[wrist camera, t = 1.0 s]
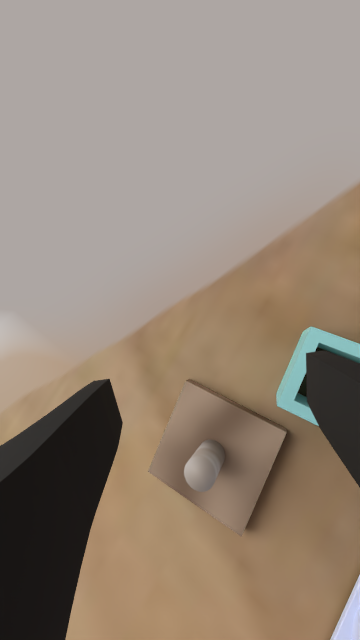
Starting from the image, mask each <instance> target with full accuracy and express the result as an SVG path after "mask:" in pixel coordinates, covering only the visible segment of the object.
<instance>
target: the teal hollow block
mask: <svg viewBox="0 0 360 640" xmlns="http://www.w3.org/2000/svg"><path fill="white" fill-rule="evenodd" d="M317 347H318V348H321V349H323V350H326V351H329V352H331V353H334V354H336V355H339V356H342V357H344V358H347V359H350V360H352V361H355V362H357V363H360V344H358V343H356V342H353V341H350V340H347V339H345V338H342V337H339V336H336V335H334V334H331V333H328V332H325V331H322V330H320V329H317V328H314V327H309V328H308V329H306V330H305V331H303V333H302V335H301V337H300V340H299V342H298V344H297V347H296V349H295V351H294V354H293V356H292V358H291V361H290V363H289V365H288V368H287V370H286V372H285V375H284V377H283V379H282V382H281V384H280V386H279V389H278V391H277V393H276V396H277V406H278V407H281V408H283V409H285V410H287V411H289V412H291V413H293V414H295V415H297V416H299V417H301V418H303V419H305V420H307V421H309V422H311V423H313V424H315V425H318V423H317V421H316V419H315V417H314V415H313V413H312V411H311V409H310V407H309V405H308V403H307V397H305V396H303V395H301V394H299V393H297V392H298V390H299V388H300V385H301V383H302V381H303V378H304V376H305V374H306V353H309V352H315V351H316V348H317ZM318 426H319V425H318Z"/></svg>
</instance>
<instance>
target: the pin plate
mask: <svg viewBox="0 0 360 640" xmlns="http://www.w3.org/2000/svg"><path fill="white" fill-rule="evenodd" d="M286 433H287V432H286V428H284V427H282V426H280V425H278V424H276V423H274V422H272V421H270V420H268V419H266V418H265V417H263V416H261V415H259V414H257V413H255V412H253V411H251V410H249V409H247V408H245V407H243V406H241V405H239V404H237V403H235V402H233V401H231V400H229V399H227V398H225V397H223V396H221V395H220V394H218V393H216V392H214V391H212V390H210V389H208V388H206V387H204V386H202V385H200V384H198V383H196V382H194V381H192V380H190V379H189V380H186V381H185V383H184V386H183V388H182V391H181V393H180V395H179V398H178V400H177V403H176V405H175V407H174V410H173V412H172V415H171V417H170V419H169V422H168V424H167V427H166V429H165V431H164V434H163V436H162V439H161V441H160V444H159V446H158V448H157V451H156V453H155V456H154V458H153V460H152V463H151V465H150V468H149V470H148V472H149V473H151V474H152V475H154V476H155V477H157V478H158V479H159V480H161V481H162V482H164V483H165V484H167V485H168V486H169V487H171V488H172V489H174V490H175V491H177V492H178V493H179V494H181V495H182V496H184V497H185V498H187V499H188V500H190V501H191V502H192V503H194V504H195V505H197V506H198V507H200V508H201V509H202V510H204V511H205V512H207V513H208V514H210V515H211V516H212V517H214V518H215V519H217V520H218V521H220V522H221V523H223V524H224V525H225V526H227V527H228V528H230V529H231V530H233V531H234V532H235V533H237V534H238V535H240V536H241V537H242V534H243V532H244V530H245V528H246V525H247V523H248V521H249V518H250V516H251V514H252V511H253V509H254V507H255V504H256V502H257V500H258V498H259V495H260V493H261V491H262V488H263V486H264V484H265V481H266V479H267V477H268V474H269V472H270V470H271V468H272V465H273V463H274V461H275V458H276V456H277V454H278V451H279V449H280V447H281V444H282V442H283V440H284V438H285V435H286Z"/></svg>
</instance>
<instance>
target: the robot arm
mask: <svg viewBox="0 0 360 640" xmlns="http://www.w3.org/2000/svg"><path fill="white" fill-rule="evenodd" d="M306 381H307V403H308V405H309V407H310V409H311V411H312V413H313V415H314V417H315V419H316V421H317V423H318V425H319V427H320V429H321V430H322V432H323V433H324V435H325V436H326V438H327V439H328V441H329V442H330V444H331V446H332V447H333V449H334V450H335V452H336V453H337V454H338V456H339V457H340V459H341V460H342V462H343V463H344V465H345V466H346V468H347V469H348V471H349V472H350V474H351V475H352V477H353V478H354V480H355V481H356V483H357V484H358V486H359V487H360V363H357V362H355V361H352V360H350V359H347V358H344V357H342V356H339V355H336V354H334V353H331V352H327V351H317V352H309V353H306ZM122 424H123V423H122V419H121V416H120V412H119V409H118V406H117V402H116V399H115V396H114V392H113V389H112V386H111V382H110V379H105V380H98V381H93V382H92V383H90V384H88V385H87V386H85V387H84V388H82V389H81V390H80V391H78V392H77V393H75V394H74V395H73V396H71V397H70V398H69V399H67V400H66V401H65V402H63V403H62V404H61V405H59V406H58V407H57V408H55V409H54V410H53V411H51V412H50V413H48V414H47V415H46V416H44V417H43V418H41V419H40V420H38V421H37V422H36V423H34V424H33V425H31V426H30V427H28V428H27V429H26V430H24V431H23V432H21V433H20V434H18V435H17V436H15V437H14V438H12V439H11V440H9V441H8V442H6V443H4V444H3V445H1V446H0V640H65V638H66V633H67V628H68V623H69V618H70V613H71V609H72V604H73V600H74V596H75V591H76V587H77V582H78V578H79V574H80V569H81V565H82V561H83V557H84V553H85V549H86V545H87V541H88V537H89V533H90V529H91V526H92V522H93V519H94V516H95V513H96V510H97V507H98V504H99V501H100V498H101V495H102V493H103V490H104V487H105V484H106V481H107V478H108V475H109V472H110V470H111V467H112V464H113V461H114V458H115V455H116V452H117V448H118V444H119V439H120V434H121V429H122ZM330 640H360V575H359V577H358V580H357V582H356V584H355V586H354V588H353V591H352V593H351V595H350V597H349V599H348V602H347V604H346V606H345V608H344V610H343V613H342V615H341V617H340V619H339V622H338V624H337V626H336V628H335V630H334V633H333V635H332V637H331V639H330Z"/></svg>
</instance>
